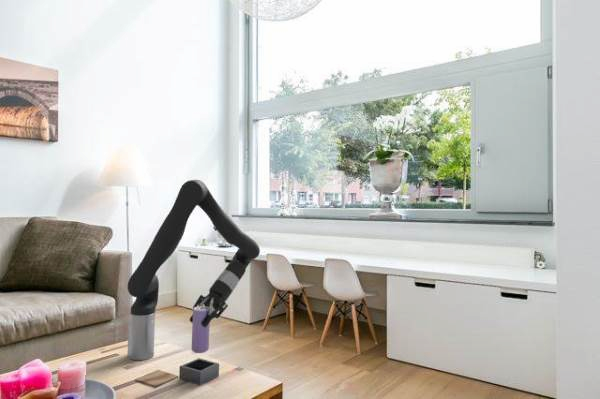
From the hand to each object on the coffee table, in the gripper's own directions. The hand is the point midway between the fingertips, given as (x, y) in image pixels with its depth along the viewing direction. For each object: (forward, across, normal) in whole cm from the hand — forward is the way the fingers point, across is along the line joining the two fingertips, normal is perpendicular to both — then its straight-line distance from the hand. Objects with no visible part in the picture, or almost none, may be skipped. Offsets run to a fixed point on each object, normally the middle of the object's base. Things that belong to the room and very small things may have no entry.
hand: (197, 323), depth 152 cm
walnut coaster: (+20, -9, +7) cm, 23 cm away
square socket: (+12, 0, +15) cm, 19 cm away
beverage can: (+6, 0, +8) cm, 10 cm away
